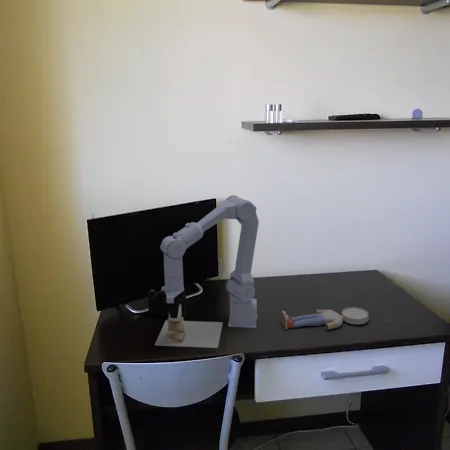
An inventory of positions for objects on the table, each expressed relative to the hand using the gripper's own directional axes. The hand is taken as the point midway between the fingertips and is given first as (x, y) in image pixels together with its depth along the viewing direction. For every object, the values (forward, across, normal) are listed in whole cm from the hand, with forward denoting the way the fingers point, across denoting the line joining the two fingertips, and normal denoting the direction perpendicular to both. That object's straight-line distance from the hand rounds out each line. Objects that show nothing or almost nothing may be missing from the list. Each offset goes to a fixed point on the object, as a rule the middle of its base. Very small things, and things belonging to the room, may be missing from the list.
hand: (175, 314), depth 155 cm
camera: (+9, -19, -6) cm, 22 cm away
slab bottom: (+8, 0, 0) cm, 8 cm away
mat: (+9, -4, +4) cm, 10 cm away
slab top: (+5, 0, 0) cm, 5 cm away
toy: (+9, -15, +49) cm, 52 cm away
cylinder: (+1, 0, 0) cm, 1 cm away
